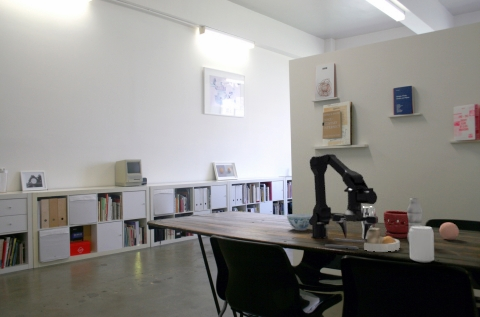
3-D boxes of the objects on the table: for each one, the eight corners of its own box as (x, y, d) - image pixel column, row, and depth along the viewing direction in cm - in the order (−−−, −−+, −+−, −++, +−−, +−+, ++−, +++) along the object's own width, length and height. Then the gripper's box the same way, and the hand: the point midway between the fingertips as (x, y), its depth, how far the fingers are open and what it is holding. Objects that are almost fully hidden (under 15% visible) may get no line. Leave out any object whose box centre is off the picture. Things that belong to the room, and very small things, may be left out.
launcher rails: (324, 246, 171) (324, 244, 171) (334, 240, 185) (334, 238, 185) (357, 249, 165) (357, 247, 165) (365, 242, 179) (365, 240, 179)
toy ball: (458, 238, 186) (457, 221, 186) (459, 241, 179) (459, 224, 179) (439, 237, 189) (438, 221, 189) (439, 240, 182) (439, 223, 182)
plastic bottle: (422, 242, 177) (421, 197, 178) (424, 245, 171) (423, 199, 171) (406, 241, 179) (405, 197, 180) (407, 244, 173) (406, 198, 173)
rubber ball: (380, 248, 166) (381, 236, 165) (382, 245, 170) (383, 234, 170) (393, 250, 163) (394, 238, 163) (395, 248, 167) (396, 236, 167)
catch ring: (364, 250, 162) (363, 243, 162) (372, 242, 178) (372, 236, 179) (396, 253, 156) (396, 245, 156) (402, 245, 173) (401, 238, 173)
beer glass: (377, 239, 186) (376, 207, 186) (361, 239, 187) (361, 207, 187) (375, 237, 192) (374, 206, 193) (360, 236, 194) (359, 206, 194)
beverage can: (405, 258, 148) (404, 225, 149) (426, 257, 149) (425, 225, 149) (417, 263, 140) (416, 229, 141) (438, 262, 141) (438, 228, 141)
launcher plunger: (367, 248, 165) (367, 231, 165) (372, 243, 175) (372, 227, 175) (374, 249, 163) (374, 232, 163) (380, 244, 174) (379, 228, 174)
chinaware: (314, 231, 211) (314, 217, 211) (286, 231, 214) (286, 217, 214) (314, 227, 226) (314, 214, 226) (288, 227, 229) (287, 213, 229)
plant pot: (383, 238, 190) (383, 213, 190) (384, 233, 202) (384, 210, 202) (413, 239, 185) (412, 213, 185) (412, 235, 197) (411, 210, 197)
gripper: (328, 203, 171) (328, 239, 170) (373, 205, 162) (373, 243, 161) (335, 201, 181) (335, 235, 180) (378, 202, 172) (378, 239, 171)
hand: (355, 238), depth 173 cm, fingers open, 8 cm apart
